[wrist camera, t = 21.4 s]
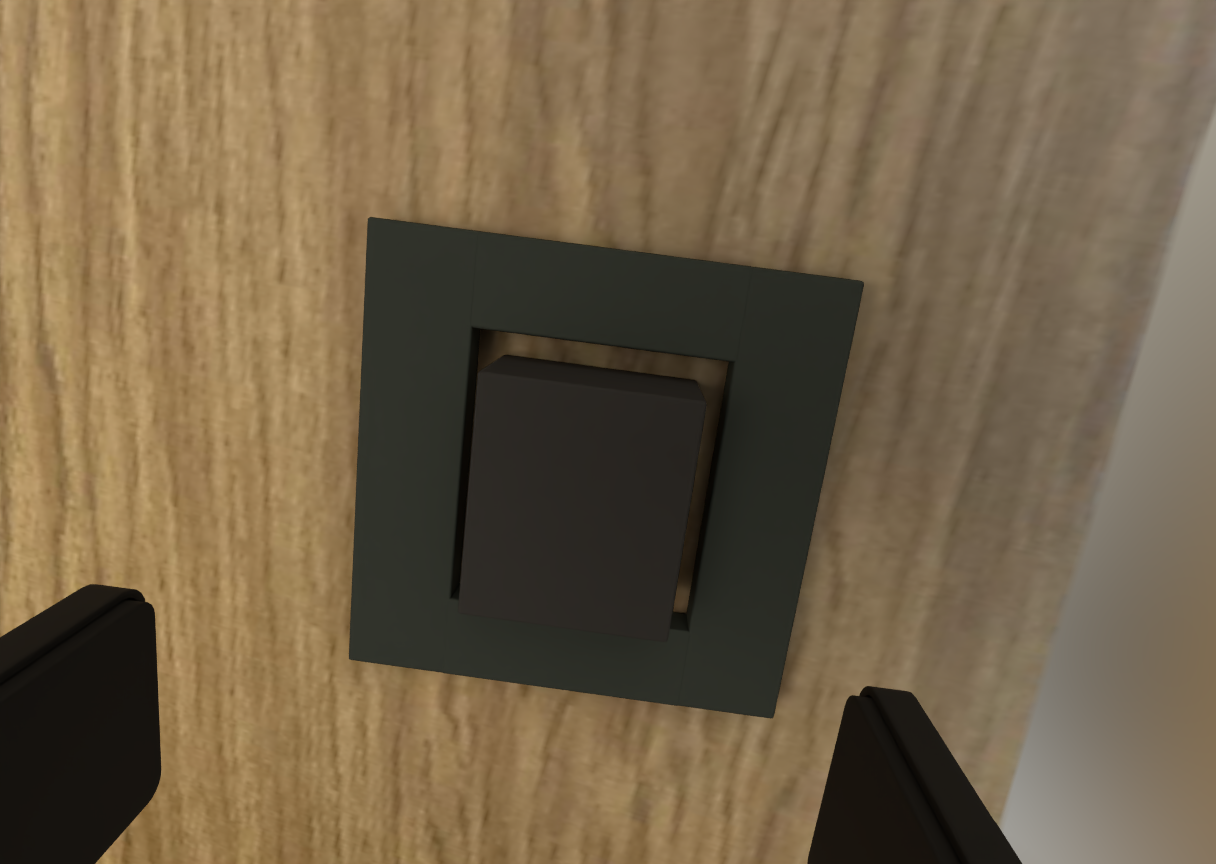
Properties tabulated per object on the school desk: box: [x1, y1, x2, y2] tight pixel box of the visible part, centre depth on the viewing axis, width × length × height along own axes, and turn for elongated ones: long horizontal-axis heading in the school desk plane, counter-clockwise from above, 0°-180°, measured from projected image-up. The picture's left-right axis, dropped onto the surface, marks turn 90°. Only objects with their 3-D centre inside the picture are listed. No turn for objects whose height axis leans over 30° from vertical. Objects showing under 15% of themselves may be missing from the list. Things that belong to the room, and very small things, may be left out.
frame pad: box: [349, 217, 864, 718], centre depth 22 cm, size 14×14×1 cm
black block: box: [458, 355, 707, 642], centre depth 21 cm, size 7×6×4 cm
